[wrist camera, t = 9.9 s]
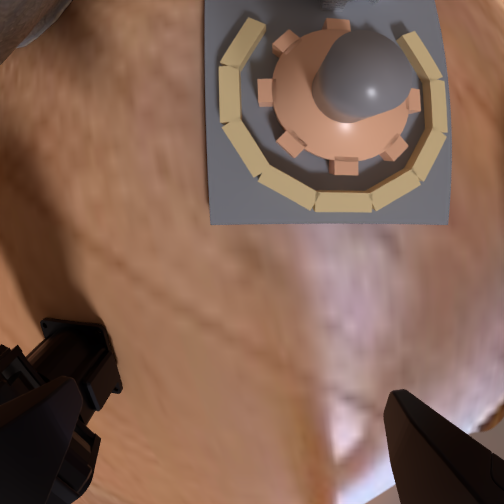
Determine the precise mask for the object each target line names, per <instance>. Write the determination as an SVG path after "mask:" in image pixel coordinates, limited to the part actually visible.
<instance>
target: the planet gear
mask: <svg viewBox="0 0 504 504" xmlns="http://www.w3.org/2000/svg"><path fill="white" fill-rule="evenodd" d="M272 53H273V54H275V55H276V56H277V57H278V58H279V60H278V62H277V64H276V67H275V70H274V73H273V78H272V79H257V81H258V103H259V107H273V108H274V112H275V115H276V117H277V120H278V122H279V123H280V125H281V127H282V129H283V130H284V131H285V133H284V134H283V135H282V136H281V137H280V138H279V139H278V140H277V141H276V143H277V144H278V145H279V146H281V147H282V148H283V149H284V150H285V151H286V152H287V153H288V154H289V155H290V156H291V157H292V158H296V157H297V156H298V155H299V154H300V152H301V151H302V150H303V149H304V150H305V151H307V152H309V153H311V154H313V155H315V156H317V157H320V158H323V159H327V160H329V173H330V174H333V175H358V161H362V160H366V159H369V158H373V157H375V156H377V155H380V156H381V158H382V159H383V160H384V161H395V160H396V159H397V158H398V157H399V156H400V155H401V154H402V153H403V152H404V151H405V150H406V149H407V147H408V144H407V143H406V142H405V141H404V140H403V138H402V137H401V136H400V135H401V133H402V131H403V129H404V127H405V125H406V122H407V118H408V114H412V113H416V112H420V111H421V104H420V90H419V89H414V88H411V86H412V71H411V67H410V64H409V61H408V59H407V57H406V56H405V54H404V53H403V51H402V50H401V49H400V48H399V47H398V45H396V44H395V43H394V42H393V41H392V40H390V39H389V38H387V37H386V36H384V35H382V34H379V33H377V32H373V31H368V30H356V31H351V29H350V21H349V20H345V19H334V18H326V20H325V22H324V25H323V27H322V30H319V31H315V32H312V33H309V34H306V35H304V36H302V37H301V38H300V37H298V36H297V35H296V34H295V33H293V32H292V31H291V30H287V31H286V32H285V33H284V34H283V35H282V36H281V37H279V38H278V39H277V40H276V41H275V42H274V43H273V44H272Z"/></svg>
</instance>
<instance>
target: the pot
mask: <svg viewBox="0 0 504 504" xmlns="http://www.w3.org/2000/svg"><path fill="white" fill-rule="evenodd" d="M71 1H72V0H0V65H1V64H2V63H3V62H4V61H5V60H6V59H7V57H8V56H9V55H10V54H11V53H12V52H13V51H14V50H15V49H16V48H20V47H25V46H26V45H28V44H29V43H31V42H32V41H34V40H35V39H37V38H38V37H39V36H40V35H41V34H42V33H43V32H44V31H45V30H46V29H48V28H49V27H50V26H51V25H52V24H53V23H54V22H55V21H56V20H57V19H58V18H59V16H60V15H61V14H62V13H63V11H64V10H65V9H66V7H67V6H68V5H69V4H70V3H71Z"/></svg>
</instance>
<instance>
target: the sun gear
mask: <svg viewBox="0 0 504 504" xmlns="http://www.w3.org/2000/svg"><path fill="white" fill-rule="evenodd" d="M319 1H320V7H321V10H323V11H336V12H342V11H343V9H344V7H345V5H346V3H347V2H350V1H355V0H319ZM368 1H369V2H370V3H372V4H373V5H375V4H376V3H377V2H379V1H380V0H368Z"/></svg>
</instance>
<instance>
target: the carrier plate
mask: <svg viewBox="0 0 504 504" xmlns="http://www.w3.org/2000/svg"><path fill="white" fill-rule="evenodd" d="M326 18H334V19H345V20H349V21H350V29H351V31H356V30H368V31H373V32H377V33H379V34H382V35H384V36H386V37H387V38H389V39H390V40H392V41H393V42H394V43H395V44H396V45H398V47H399V48H400V49H401V50H402V51H403V53H404V54H405V56H406V57H407V59H408V61H409V64H410V67H411V71H412V86H411V88H414V89H419V90H420V104H421V111H420V112H416V113H412V114H408V118H407V122H406V125H405V127H404V129H403V131H402V133H401V135H400V136H401V137H402V138H403V140H404V141H405V142H406V143H407V144H408V147H407V149H406V150H405V151H404V152H403V153H402V154H401V155H400V156H399V157H398V158H397V159H396V160H395V161H384V160H383V159H382V158H381V156H380V155H377V156H375V157H373V158H369V159H366V160H362V161H358V175H333V174H330V173H329V160H327V159H323V158H320V157H317V156H315V155H313V154H311V153H309V152H307V151H305V150H304V149H303V150H302V151H301V152H300V154H299V155H298V156H297V157H296V158H292V157H291V156H290V155H289V154H288V153H287V152H286V151H285V150H284V149H283V148H282V147H281V146H279V145H278V144H277V143H276V141H277V140H278V139H279V138H280V137H281V136H282V135H283V134H284V133H285V131H284V130H283V129H282V127H281V125H280V123H279V122H278V120H277V117H276V115H275V112H274V108H273V107H259V103H258V81H257V79H272V78H273V73H274V70H275V67H276V64H277V62H278V60H279V58H278V57H277V56H276V55H275V54H273V53H272V44H273V43H274V42H275V41H276V40H277V39H278V38H279V37H281V36H282V35H283V34H284V33H285V32H286V31H287V30H291V31H292V32H293V33H295V34H296V35H297V36H298V37H300V38H301V37H302V36H304V35H306V34H309V33H312V32H315V31H319V30H322V27H323V25H324V22H325V20H326ZM205 105H206V138H207V164H208V186H209V205H210V223H211V225H234V224H320V223H348V224H430V225H448V219H449V207H450V192H451V165H452V137H451V111H450V97H449V85H448V76H447V67H446V60H445V53H444V46H443V40H442V34H441V29H440V24H439V19H438V14H437V10H436V5H435V1H434V0H380V1H379V2H377V3H376V4H375V5H373V4H372V3H370V2H369V1H368V0H355V1H350V2H347V3H346V5H345V7H344V9H343V11H342V12H336V11H323V10H321V7H320V1H319V0H205Z"/></svg>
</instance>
